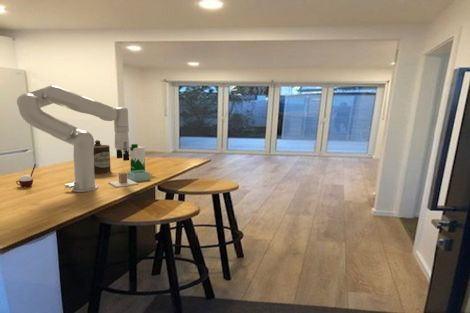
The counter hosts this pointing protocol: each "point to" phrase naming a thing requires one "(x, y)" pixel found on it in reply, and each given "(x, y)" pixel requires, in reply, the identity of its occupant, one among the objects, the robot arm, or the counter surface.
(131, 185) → the mat
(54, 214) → the counter surface
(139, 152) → the milk carton
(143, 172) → the dish
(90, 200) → the counter surface
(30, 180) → the cocoa
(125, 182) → the lid
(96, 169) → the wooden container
